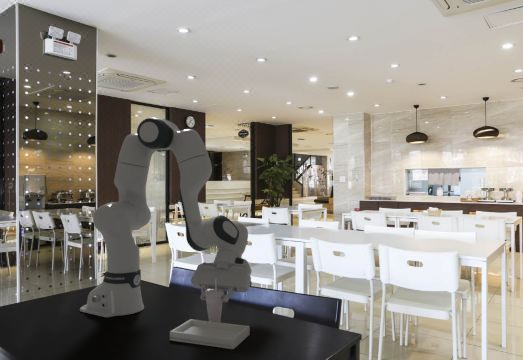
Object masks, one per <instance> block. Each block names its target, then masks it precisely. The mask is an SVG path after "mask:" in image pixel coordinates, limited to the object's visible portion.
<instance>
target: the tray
mask: <svg viewBox="0 0 523 360" xmlns="http://www.w3.org/2000/svg"><path fill="white" fill-rule="evenodd" d="M250 326H251V325H245V324H244V325H242V324H237V323H236V324H234V323H227V322H226V323H225V322H220V323H219V322H211V321H209V320H200V319H191V318H190V319H188V320H186V321H185V322H184V323H181V325H178V326H177V327H175V328H174V329H171V330H170V331H169V341H173V342H179V343H186V344H187V343H188V344H194V345H202V346H208V347H209V346H210V347H217V348H222V349H229V350H234V349H235V348H237V347H238V346H239V345H240V344H241V343H242V342H243V341H244V340H246V338H248V337H249V336H250V333H251V332H250V331H251V330H250V329H251V328H250Z"/></svg>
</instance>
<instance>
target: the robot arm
mask: <svg viewBox="0 0 523 360" xmlns="http://www.w3.org/2000/svg"><path fill="white" fill-rule="evenodd" d="M136 129H137V130H136V133H135V132H134V133H130V134H127V135H126V136H125V138H124V139H123V142H122V145H121V147H120V151H119V154H118V159H117V162H116V163H117V164H116V169H115V173H114V174H115V175H114V179H113V183H114V186H115V187H116V188H117V191H118V201H111V202H107V203H105V204H103V205H100V206H99V207H97V208H96V210H95V211H94V213H93V215H92V216H93V218H92V219H93V220H92V222H93V225H94V228H95V229H97V231H98V232H99V233H100V234H101V235H102V239H103V240H104V243H105V247H106V248H105V249H106V262H107V263H106V264H107V266H106V267H107V268H106V271H105V272H103V273H101V276H100V277H101V278H102V277H103V279H102V282H100V283H99V284H98V285H97V286H96V287H94V288H93V289H92V290H91V291H90V292H89V293H88V295H87V301H86V304H84V305H82V306H81V307H80V308H79V311H80V312H82V313H86V314H90V315H95V316H98V317H102V318H103V317H104V318H111V317H118V316H126V315H131V314H135V313H136V314H137V313H139V312H141V311H144V309H145V306H144V302H143V298H142V292H141V279H142V274H141V273H142V270H141V268H140V252H141V251H140V247H139V246H138V245H137V244H136V243H135V240H134V237H133V232H132V231H137V230H140V229H142V228H143V227H145V226H146V225H148V224H149V222H150V220H151V217H152V212H151V209H150V207H149V206H148V204H147V197H146V196H147V194H146V192H147V191H146V190H147V182H148V177H149V176H148V175H149V171H150V165H151V160H152V156H153V155H154V154H155V153H156V152H158V153H160V152H168V151H169V152H170V151H172V153H173V155H174V156H175V157H174V158H175V159H176V162H177V165H178V168H179V173H180V175H179V176H180V182H179V188H178V191H179V198H180V203H181V208H182V213H183V218H184V223H185V237H186V241H187V244H188V245H189V247H190V248H191V249H193V250H194V251H196V252H204V251H206V250H208V249H210V248H214V247H217V248H218V250H217V252H216V255H215V258H214V260H213V262H204V261H203V262H202V263H200V264H198V265H197V267H196V269H195V271H194V272H193V275H192V276H191V278H190V282H191V284H192V286H193V287H194V288H195V289H196V288H197V289H200V292H201V294H200V300H201V301H206V297H205V296H204V295H205V292H206V291H208V290H215V279H217V290H222V291H224V292H227V293H226V294H224V295H223V298H222V301H223V303H228V302H229V300H230V298H231V297H232V296H233V295H234V294H235V292H237V293H247V292H249V290H250V286H251V283H252V282H251V281H252V277H251V274H252V268H251V265H250V264H249V261H248V260H247V259H245V258H242V256H243V254H244V253H245V250H246V247H247V243H248V241H249V240H248V239H249V231H248V228H247V226H246V225H244V224H243V223H241V222H239V221H232V220H231V219H229V217H227V216H225V215H223V214H221V215H220V214H219V215H217V216H214V217H211V218H208V219H205V220H202V216H201V211H200V207H199V201H198V196H199V193H200V192H201V190H202V189H203V187H204V186H205V185H206V183H207V182H208V181H209V179H210V178H211V176H212V172H213V167H212V162H211V159H210V155H209V153H208V150H207V148H206V146H205V142H203V140H202V138H201V136H200V134H199V133H198V131H196V130H195V129H192V128H186V129H182V128H181V127H180V126H179V125H178V124H177V123H175V122H172V121H170V120H168V119H165V118H159V117H148V118H145V119H143V120H142V121H140V123H139V124H138V126H137V128H136Z"/></svg>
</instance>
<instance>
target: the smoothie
mask: <svg viewBox="0 0 523 360" xmlns="http://www.w3.org/2000/svg"><path fill="white" fill-rule="evenodd" d="M223 295H225V291H224V290H217V279H215V290H214V289H208V290H207V291H205V295H204V296H205V297H206V300H205V303H206V311H207V318H208V320H207V321H211V322H219V323H221V322H222V321H221V320H222V309H223V303H224V302H223V301H222V298H223Z"/></svg>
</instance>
